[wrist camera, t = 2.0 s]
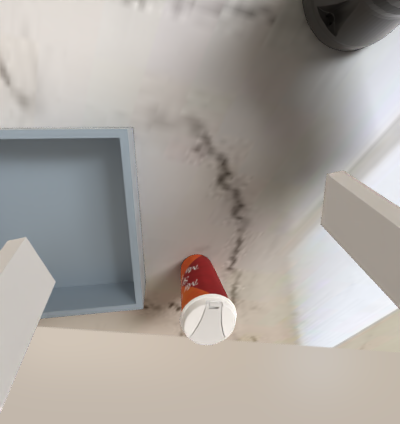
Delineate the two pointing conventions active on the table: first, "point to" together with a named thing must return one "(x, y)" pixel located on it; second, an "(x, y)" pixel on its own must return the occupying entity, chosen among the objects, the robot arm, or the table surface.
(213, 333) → the paper cup
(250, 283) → the table surface
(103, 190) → the bin
